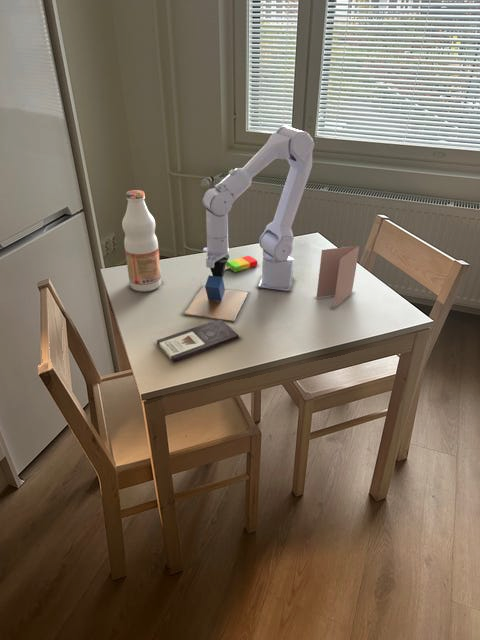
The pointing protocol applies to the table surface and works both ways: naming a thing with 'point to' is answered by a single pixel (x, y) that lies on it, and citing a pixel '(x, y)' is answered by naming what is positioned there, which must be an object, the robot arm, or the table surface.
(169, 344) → the chocolate bar
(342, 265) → the greeting card
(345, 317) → the table surface
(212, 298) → the blue block
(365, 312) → the table surface
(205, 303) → the cork mat
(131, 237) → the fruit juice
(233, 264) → the popsicle
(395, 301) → the table surface
